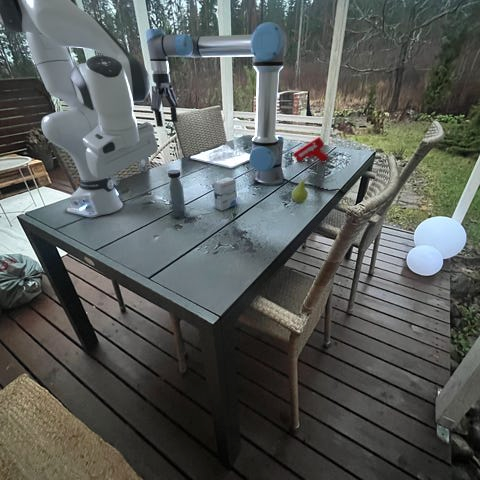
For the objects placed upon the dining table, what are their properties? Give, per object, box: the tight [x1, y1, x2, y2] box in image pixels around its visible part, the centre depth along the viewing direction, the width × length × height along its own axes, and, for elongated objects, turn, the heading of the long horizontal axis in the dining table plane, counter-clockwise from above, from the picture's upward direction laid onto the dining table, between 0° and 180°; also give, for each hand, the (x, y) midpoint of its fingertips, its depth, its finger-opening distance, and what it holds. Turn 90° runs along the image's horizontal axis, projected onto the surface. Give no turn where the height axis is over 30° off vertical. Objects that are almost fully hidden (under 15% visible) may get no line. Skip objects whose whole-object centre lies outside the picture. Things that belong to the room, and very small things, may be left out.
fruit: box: [291, 174, 311, 204], centre depth 118 cm, size 7×8×12 cm
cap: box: [167, 169, 182, 179], centre depth 102 cm, size 4×4×2 cm
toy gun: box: [293, 136, 329, 164], centre depth 170 cm, size 18×4×15 cm
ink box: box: [212, 176, 237, 211], centre depth 115 cm, size 8×5×12 cm, turn 135°
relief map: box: [190, 144, 250, 169], centre depth 178 cm, size 27×35×5 cm
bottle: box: [168, 177, 187, 219], centre depth 107 cm, size 5×5×18 cm
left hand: (130, 176), depth 80 cm, fingers open, 8 cm apart
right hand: (167, 124), depth 132 cm, fingers open, 13 cm apart
